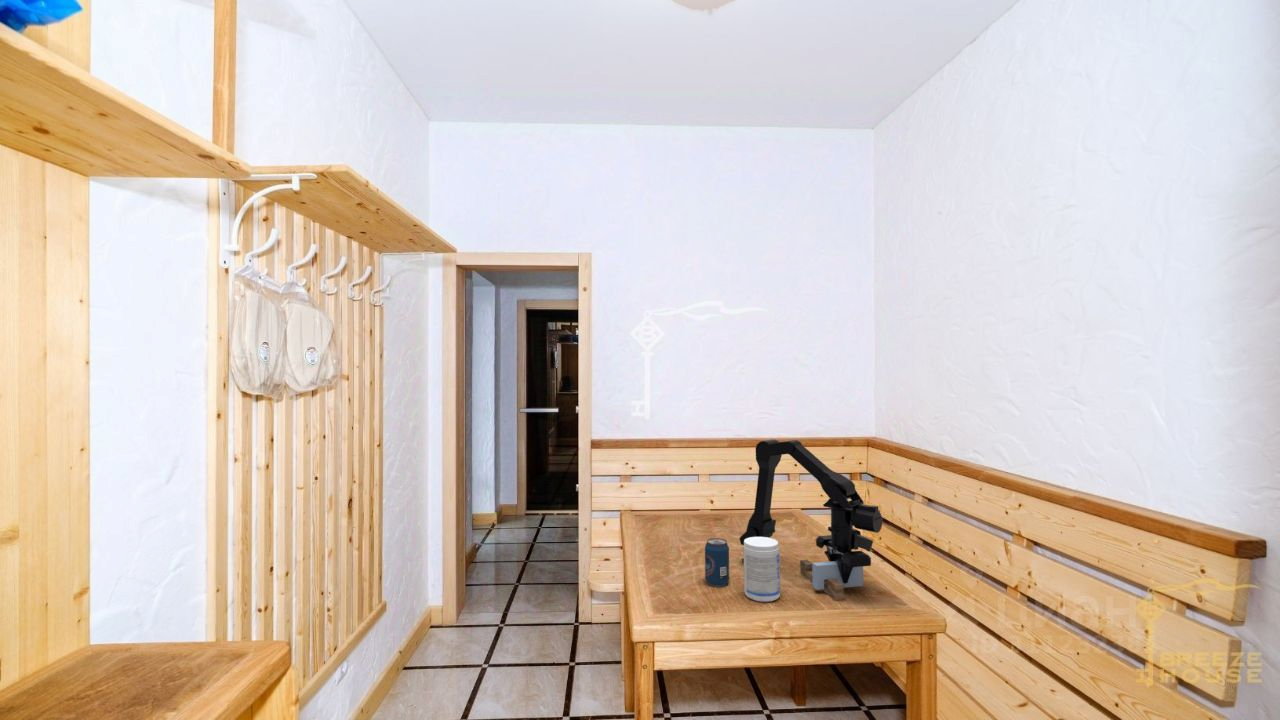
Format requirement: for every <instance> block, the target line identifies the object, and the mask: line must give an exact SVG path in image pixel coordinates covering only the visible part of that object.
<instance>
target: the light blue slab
mask: <svg viewBox="0 0 1280 720" xmlns="http://www.w3.org/2000/svg"><path fill="white" fill-rule="evenodd" d="M811 563H812V574H813V583H812V587H813V588H814V589H815V590H820V591H821V590H822V589H824V580H825V579H828V580H831V579H836V580H837V581H839V582H840V583H842V584H843V588H851V587H863V586H864V566H862V567H853V569H852V571H851V574H850V577H849V580H848V583H843V581H842V578H841V575H840V571H839V568H838V564H837V561H829V560H828V561H818V562H811Z"/></svg>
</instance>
